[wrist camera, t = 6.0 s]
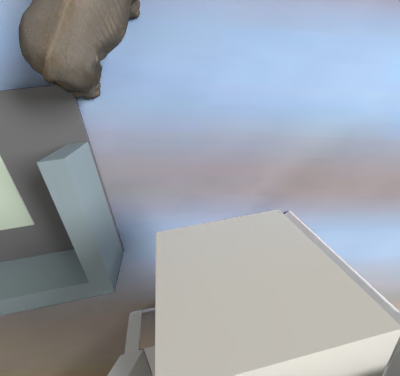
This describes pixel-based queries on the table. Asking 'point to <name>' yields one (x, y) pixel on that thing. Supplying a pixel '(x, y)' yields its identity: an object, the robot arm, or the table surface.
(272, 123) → the table surface
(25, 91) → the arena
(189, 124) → the table surface
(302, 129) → the table surface
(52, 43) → the rhino figurine
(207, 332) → the block
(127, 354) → the robot arm
